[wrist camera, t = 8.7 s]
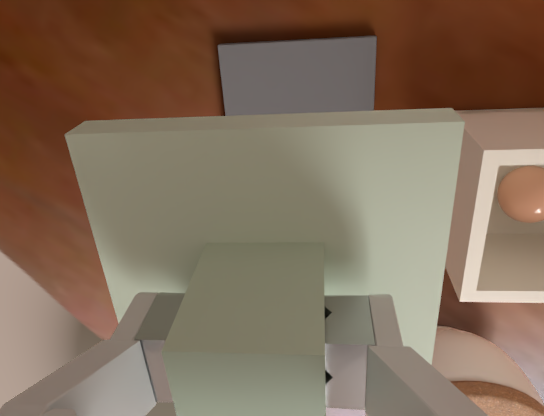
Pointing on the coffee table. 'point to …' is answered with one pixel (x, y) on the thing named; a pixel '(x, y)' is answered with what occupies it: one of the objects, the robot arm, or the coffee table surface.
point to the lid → (270, 238)
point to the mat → (298, 76)
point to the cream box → (495, 210)
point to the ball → (523, 194)
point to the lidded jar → (484, 374)
